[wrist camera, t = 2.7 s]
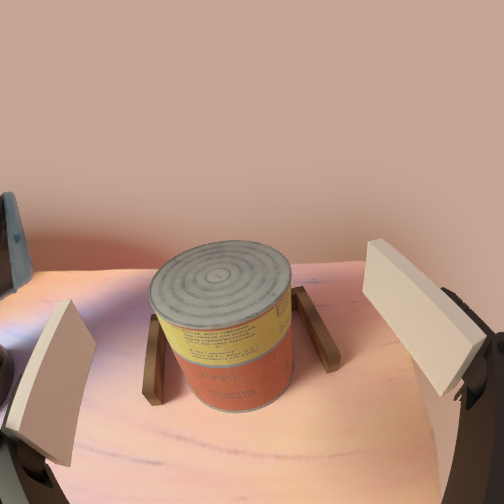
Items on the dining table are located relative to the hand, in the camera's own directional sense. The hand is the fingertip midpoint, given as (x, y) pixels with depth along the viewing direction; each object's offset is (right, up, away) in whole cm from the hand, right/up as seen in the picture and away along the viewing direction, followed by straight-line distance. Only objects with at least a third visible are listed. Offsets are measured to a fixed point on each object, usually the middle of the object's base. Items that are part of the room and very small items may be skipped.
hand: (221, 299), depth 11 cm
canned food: (0, -10, +16) cm, 19 cm away
